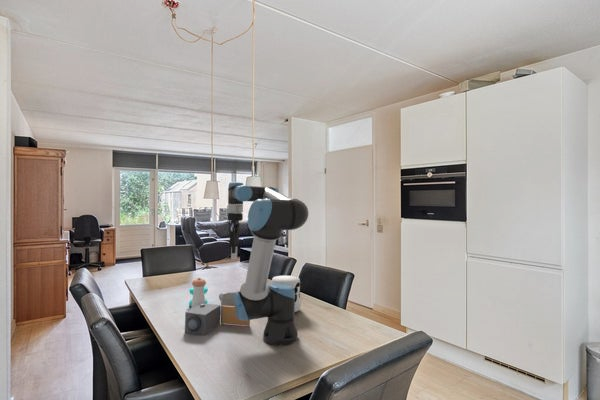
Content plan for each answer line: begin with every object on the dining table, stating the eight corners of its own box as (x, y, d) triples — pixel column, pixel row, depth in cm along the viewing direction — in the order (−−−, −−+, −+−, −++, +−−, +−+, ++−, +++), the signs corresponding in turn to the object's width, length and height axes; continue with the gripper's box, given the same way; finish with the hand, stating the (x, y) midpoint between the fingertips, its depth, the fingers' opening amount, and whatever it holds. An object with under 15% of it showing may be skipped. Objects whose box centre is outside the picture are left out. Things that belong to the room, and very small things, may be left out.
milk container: (282, 304, 185) (283, 273, 185) (306, 310, 175) (307, 278, 175) (262, 312, 171) (263, 278, 171) (288, 319, 161) (289, 284, 161)
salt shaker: (193, 311, 168) (194, 276, 169) (207, 312, 168) (208, 276, 168) (188, 316, 161) (189, 279, 161) (202, 317, 161) (203, 279, 161)
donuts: (201, 291, 173) (185, 289, 176) (200, 309, 173) (185, 307, 176) (211, 286, 183) (196, 284, 186) (210, 303, 182) (196, 301, 185)
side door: (221, 322, 153) (221, 305, 153) (249, 325, 151) (250, 307, 151) (220, 323, 152) (220, 306, 152) (249, 326, 150) (249, 308, 150)
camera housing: (220, 323, 153) (220, 303, 153) (202, 337, 137) (202, 314, 137) (201, 321, 155) (202, 301, 155) (182, 334, 140) (182, 312, 140)
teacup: (244, 309, 174) (244, 295, 174) (227, 314, 166) (228, 299, 166) (229, 303, 183) (230, 290, 183) (213, 308, 175) (213, 293, 175)
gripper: (231, 212, 166) (230, 256, 166) (224, 212, 153) (222, 261, 153) (245, 212, 166) (244, 257, 166) (239, 213, 153) (237, 261, 153)
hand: (233, 259), depth 159 cm, fingers closed
